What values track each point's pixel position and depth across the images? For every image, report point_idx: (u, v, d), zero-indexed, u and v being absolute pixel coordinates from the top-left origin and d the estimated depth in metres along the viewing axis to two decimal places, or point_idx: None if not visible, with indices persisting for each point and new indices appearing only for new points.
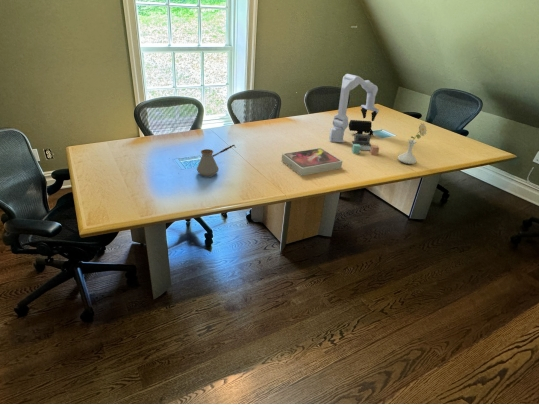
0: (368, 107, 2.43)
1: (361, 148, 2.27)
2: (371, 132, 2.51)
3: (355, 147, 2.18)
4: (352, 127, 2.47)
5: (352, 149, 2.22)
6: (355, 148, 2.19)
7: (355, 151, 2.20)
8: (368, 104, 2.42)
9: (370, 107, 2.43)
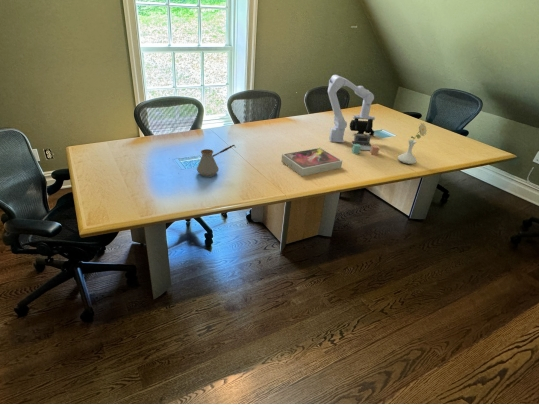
0: (366, 116, 2.30)
1: (361, 148, 2.27)
2: (372, 132, 2.51)
3: (355, 147, 2.18)
4: (353, 127, 2.47)
5: (352, 149, 2.22)
6: (355, 148, 2.19)
7: (355, 151, 2.20)
8: (366, 113, 2.29)
9: (368, 115, 2.30)
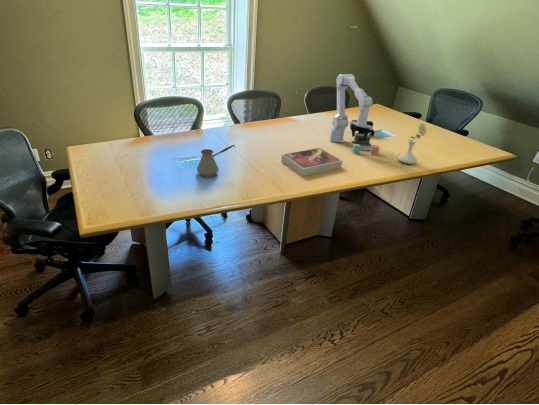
0: (361, 123, 2.10)
1: (361, 148, 2.27)
2: (373, 132, 2.51)
3: (355, 147, 2.18)
4: None
5: (352, 149, 2.22)
6: (355, 148, 2.19)
7: (355, 151, 2.20)
8: (361, 120, 2.09)
9: (363, 123, 2.10)
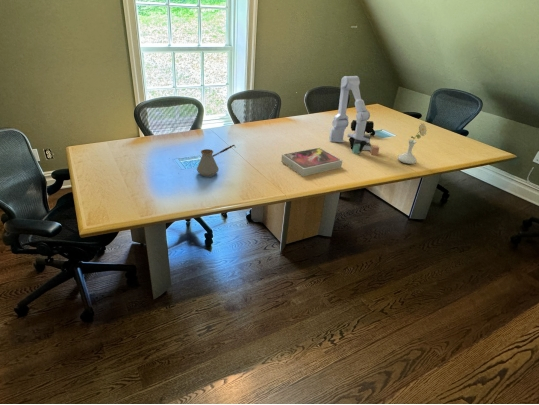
0: (358, 136, 2.14)
1: None
2: (373, 132, 2.51)
3: (355, 147, 2.18)
4: (354, 127, 2.47)
5: (352, 149, 2.22)
6: (355, 148, 2.18)
7: (355, 151, 2.19)
8: (358, 133, 2.13)
9: (360, 136, 2.14)
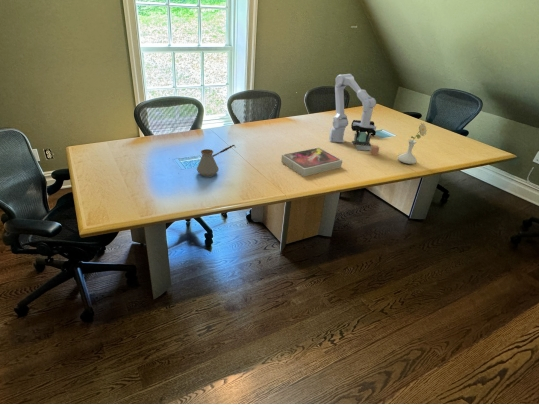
0: (365, 124, 2.13)
1: (361, 148, 2.27)
2: (374, 132, 2.51)
3: (362, 135, 2.18)
4: None
5: (358, 137, 2.22)
6: (361, 136, 2.18)
7: (362, 139, 2.19)
8: (365, 121, 2.12)
9: (367, 124, 2.13)
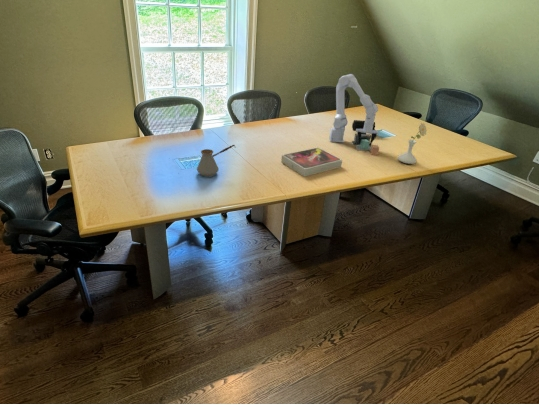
0: (369, 130, 2.19)
1: (361, 148, 2.27)
2: None
3: (365, 143, 2.24)
4: (356, 127, 2.47)
5: (360, 145, 2.28)
6: (365, 144, 2.25)
7: (365, 146, 2.26)
8: (369, 127, 2.18)
9: (371, 130, 2.20)
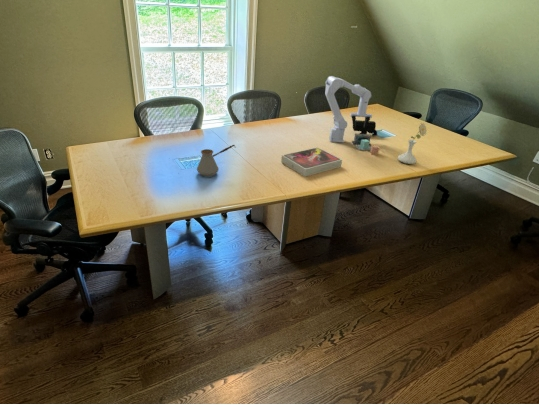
0: (363, 113, 2.30)
1: (361, 148, 2.27)
2: (375, 132, 2.51)
3: (365, 143, 2.24)
4: (356, 127, 2.47)
5: (360, 145, 2.28)
6: (365, 144, 2.25)
7: (365, 146, 2.26)
8: (363, 110, 2.29)
9: (365, 113, 2.31)
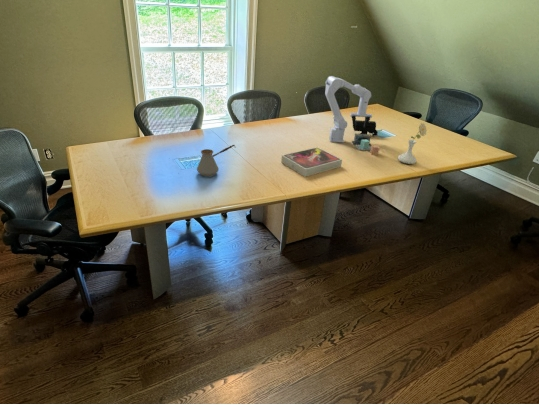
0: (363, 113, 2.30)
1: (361, 148, 2.27)
2: (375, 132, 2.51)
3: (365, 143, 2.24)
4: (357, 127, 2.47)
5: (360, 145, 2.28)
6: (365, 144, 2.25)
7: (365, 146, 2.26)
8: (363, 110, 2.29)
9: (365, 113, 2.31)
